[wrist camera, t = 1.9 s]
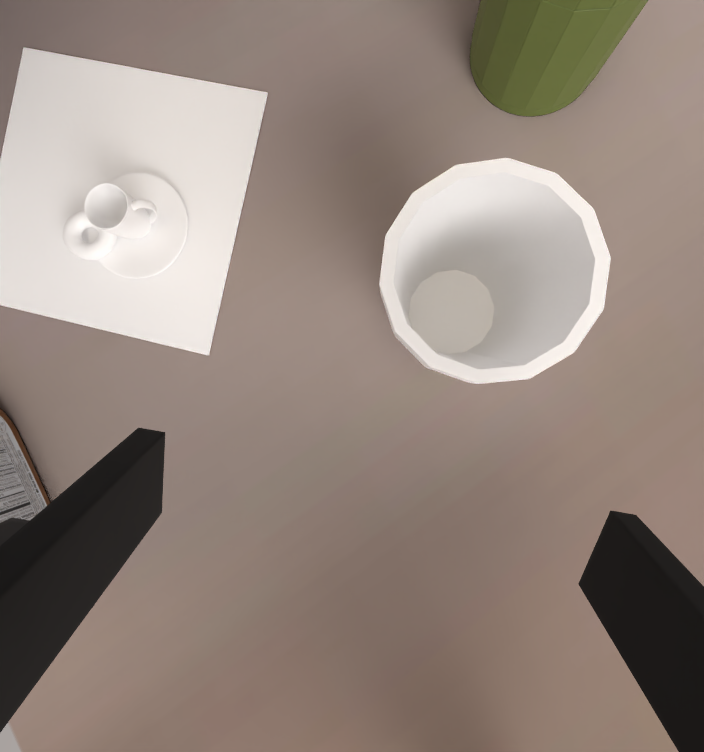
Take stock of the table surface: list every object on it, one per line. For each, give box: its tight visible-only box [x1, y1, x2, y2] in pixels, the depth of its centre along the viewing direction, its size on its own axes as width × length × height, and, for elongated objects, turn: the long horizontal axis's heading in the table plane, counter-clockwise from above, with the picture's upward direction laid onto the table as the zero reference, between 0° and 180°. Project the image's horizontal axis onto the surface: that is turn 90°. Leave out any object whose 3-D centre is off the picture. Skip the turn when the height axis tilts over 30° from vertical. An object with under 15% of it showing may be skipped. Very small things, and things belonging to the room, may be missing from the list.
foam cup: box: [379, 158, 611, 384], centre depth 25 cm, size 10×9×13 cm
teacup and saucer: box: [62, 171, 189, 280], centre depth 31 cm, size 9×8×4 cm
